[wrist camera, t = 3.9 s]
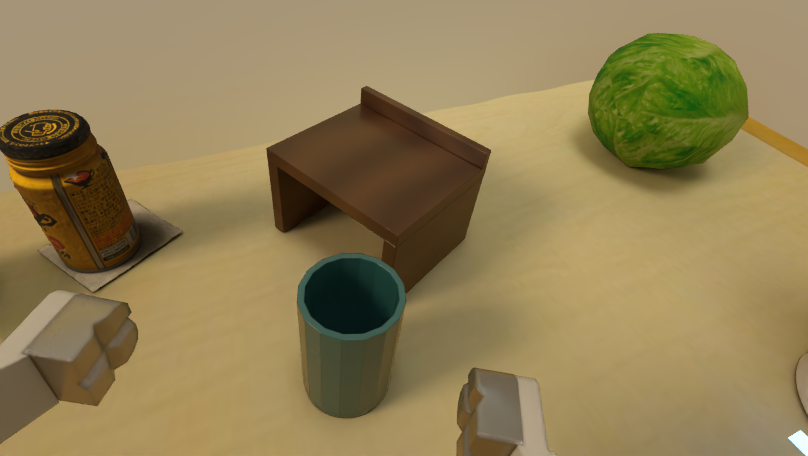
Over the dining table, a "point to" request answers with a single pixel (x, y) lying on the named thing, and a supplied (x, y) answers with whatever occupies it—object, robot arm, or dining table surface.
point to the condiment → (78, 197)
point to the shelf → (383, 179)
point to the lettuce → (667, 101)
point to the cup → (349, 332)
